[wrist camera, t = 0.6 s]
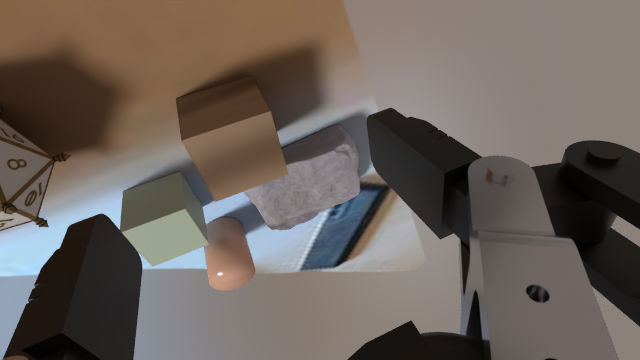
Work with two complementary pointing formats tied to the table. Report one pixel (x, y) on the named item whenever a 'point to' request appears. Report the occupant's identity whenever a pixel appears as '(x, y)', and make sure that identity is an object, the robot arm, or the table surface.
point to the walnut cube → (231, 137)
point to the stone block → (310, 179)
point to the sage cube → (163, 219)
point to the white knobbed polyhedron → (22, 177)
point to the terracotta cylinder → (228, 254)
